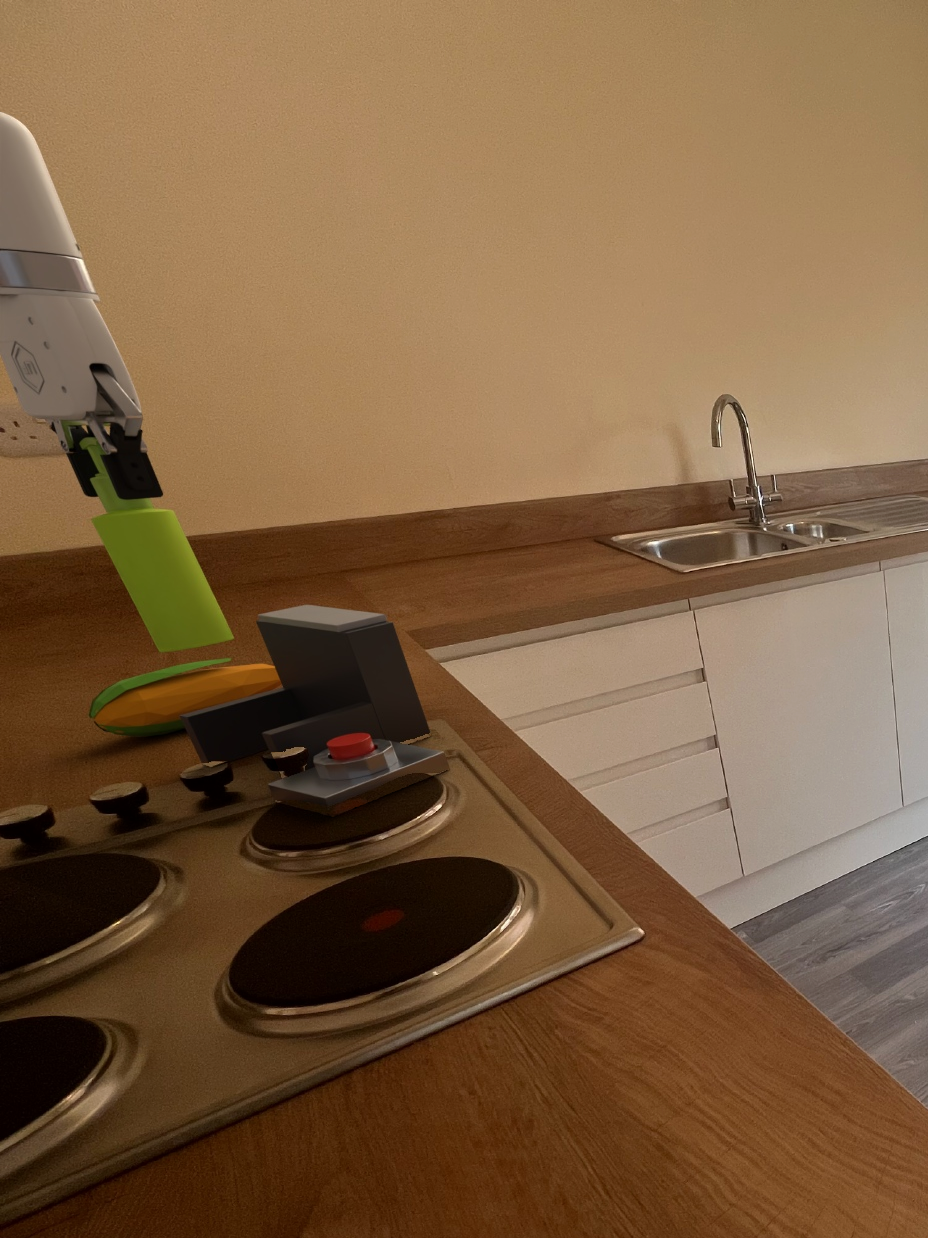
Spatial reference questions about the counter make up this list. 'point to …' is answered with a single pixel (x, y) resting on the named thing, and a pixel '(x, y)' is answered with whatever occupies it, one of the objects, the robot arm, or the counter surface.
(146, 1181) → the counter surface
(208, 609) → the soap dispenser
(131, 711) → the corn
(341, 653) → the coffee maker
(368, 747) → the button
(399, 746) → the button block
